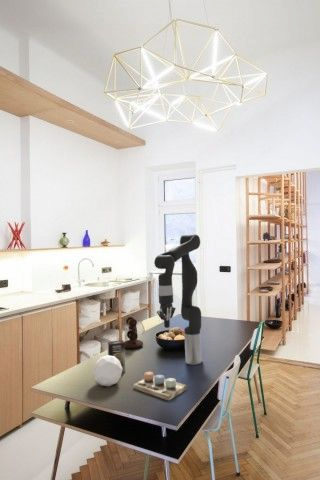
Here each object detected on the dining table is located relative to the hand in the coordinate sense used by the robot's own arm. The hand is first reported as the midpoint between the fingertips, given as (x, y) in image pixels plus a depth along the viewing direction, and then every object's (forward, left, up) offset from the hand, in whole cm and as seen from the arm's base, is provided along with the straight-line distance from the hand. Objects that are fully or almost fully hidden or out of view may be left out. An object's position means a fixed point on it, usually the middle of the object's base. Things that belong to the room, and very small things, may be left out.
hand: (167, 327), depth 172 cm
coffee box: (+7, -32, -27) cm, 43 cm away
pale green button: (+11, +10, -24) cm, 28 cm away
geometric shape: (+22, -22, -27) cm, 41 cm away
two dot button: (+11, -4, -24) cm, 26 cm away
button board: (+11, +3, -27) cm, 29 cm away
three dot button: (+11, +3, -24) cm, 26 cm away
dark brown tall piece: (-29, -56, -27) cm, 68 cm away
